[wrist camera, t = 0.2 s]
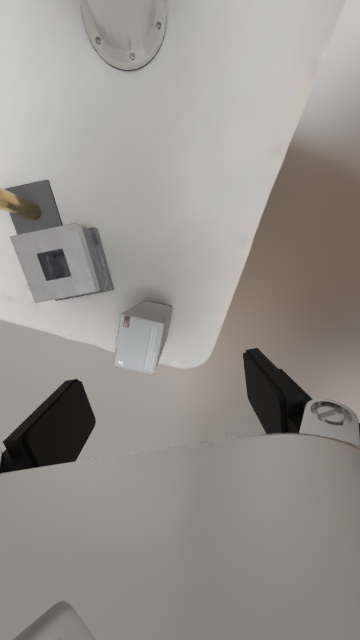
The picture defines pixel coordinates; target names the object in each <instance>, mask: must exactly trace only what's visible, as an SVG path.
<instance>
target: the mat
mask: <svg viewBox="0 0 360 640" xmlns="http://www.w3.org/2000/svg"><path fill="white" fill-rule="evenodd" d="M4 190H6V191H9V192H11V193H13V194H15V195H17V196H20V197H22V198H24V199H26V200H28V201H30V202H33V203H35V204H37V205H38V206H39V208H40V210H41V217H40V218H39V219H38V220H31V219H28V218H25V217H22V216H19V215H16V214H13V213H10V212H9V213H10V216H11V218H12V221H13V224H14V226H15V229H16V232H17V234H18V235H20V234H24V233H29V232H34V231H39V230H44V229H49V228H54V227H59V226H63V225H62V222H61V219H60V215H59V212H58V209H57V206H56V203H55V199H54V196H53V193H52V190H51V187H50V184H49V181H48V180H44V181H39V182H34V183H30V184H25V185H21V186H16V187H11V188H7V189H4Z"/></svg>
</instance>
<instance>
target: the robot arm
mask: <svg viewBox="0 0 360 640" xmlns="http://www.w3.org/2000/svg"><path fill="white" fill-rule="evenodd" d="M81 9H82V16H83V21H84V24H85V27H86V31H87V33H88V36H89V38H90V40H91V42H92V44H93V46H94V48H95V50H96V51H97V52H98V54H99V55H100V56H101V57H102V58H103V59H104V60H105V61H106V62H107V63H109V64H110V65H112V66H114V67H116V68H119V69H122V70H133V69H138V68H140V67H142V66H144V65H145V64H147V63H148V62H149V61H150V60H151V59H152V58H153V57H154V56H155V55H156V53H157V51H158V49H159V48H160V46H161V43H162V40H163V37H164V33H165V28H166V4H165V0H81ZM243 358H244V368H245V378H246V385H247V386H246V387H247V395H248V399H249V402H250V403H251V405H252V407H253V409H254V411H255V413H256V415H257V417H258V418H259V420H260V422H261V424H262V426H263V428H264V430H265V432H266V434H264V435H254V436H246V437H238V438H230V439H223V440H217V441H210V442H203V443H196V444H189V445H182V446H175V447H168V448H162V449H155V450H149V451H141V452H135V453H128V454H121V455H115V456H109V457H102V458H95V459H88V460H82V461H76V459H77V457H78V456H79V454H80V452H81V450H82V448H83V446H84V445H85V443H86V441H87V439H88V437H89V435H90V434H91V431H92V430H93V428H94V426H95V422H96V421H95V417H94V414H93V412H92V409H91V406H90V403H89V401H88V398H87V395H86V393H85V390H84V387H83V384H82V382H81V381H79V380H77V379H74V380H68V381H65V382H64V383H63V384H62V385H61V386H60V387H59V388H58V389H57V390H56V391H55V392H54V393H53V394H52V395H51V396H50V397H49V398H47V399H46V401H44V402H43V403H42V404H41V405H40V406H39V407H38V408H37V409H36V410H35V411H34V412H33V413H32V414H31V415H30V416H29V417H28V418H27V419H26V420H25V421H24V422H23V423H22V424H21V425H20V426H19V427H18V428H17V429H16V430H15V431H14V432H13V433H12V434H11V435H10V436H8V437H7V439H5V440H4V441H3V443H4V445H5V447H6V450H5V451H4V452H3V453H2V451H1V450H0V640H360V423H359V422H358V418H357V415H356V414H355V413H354V412H353V410H351V409H350V408H349V407H347V406H346V405H344V404H341V403H339V402H336V401H333V400H329V399H312V398H310V396H309V395H308V394H306V393H305V391H303V390H302V389H301V388H300V387H299V386H298V385H297V384H296V383H295V382H294V381H293V380H292V379H291V378H290V377H289V376H288V375H287V374H286V373H285V372H284V371H283V370H282V369H278V368H277V367H276V366H275V365H274V364H273V363H272V362H271V361H269V359H268V358H266V356H265V355H263V353H262V352H261V351H260V350H259V349H258V348H255V349H249V350H246V353H243Z"/></svg>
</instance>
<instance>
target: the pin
mask: <svg viewBox="0 0 360 640" xmlns="http://www.w3.org/2000/svg"><path fill="white" fill-rule="evenodd" d="M0 209H1V210H4V211H7V212H10V213H13V214H16V215H19V216H22V217H25V218H28V219H31V220H38V219H39V218H40V217H41V210H40V208H39V206H38V205H37V204H35V203H33V202H30V201H28V200H26V199H24V198H22V197H20V196H17V195H15V194H13V193H11V192H9V191H6V190H4V189H2V188H0Z"/></svg>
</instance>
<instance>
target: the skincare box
mask: <svg viewBox="0 0 360 640" xmlns="http://www.w3.org/2000/svg"><path fill="white" fill-rule="evenodd" d="M171 313H172V306H168V305H163V304H157V303H153V302H148V301H144V302H142V303H140V304H139V305H137V306H135V307H133V308H131V309H130V310H128V311H126V312H124V313H122V314H121V315H120V322H119V330H118V336H117V337H116V339H115V345H116V350H115V357H114V366H115V367H120V368H125V369H131V370H136V371H141V372H146V373H151V374H154V373H155V370H156V367H157V364H158V362H159V359H160V356H161V353H162V350H163V347H164V345H165V342H166V339H167V335H168V330H169V325H170V320H171Z"/></svg>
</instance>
